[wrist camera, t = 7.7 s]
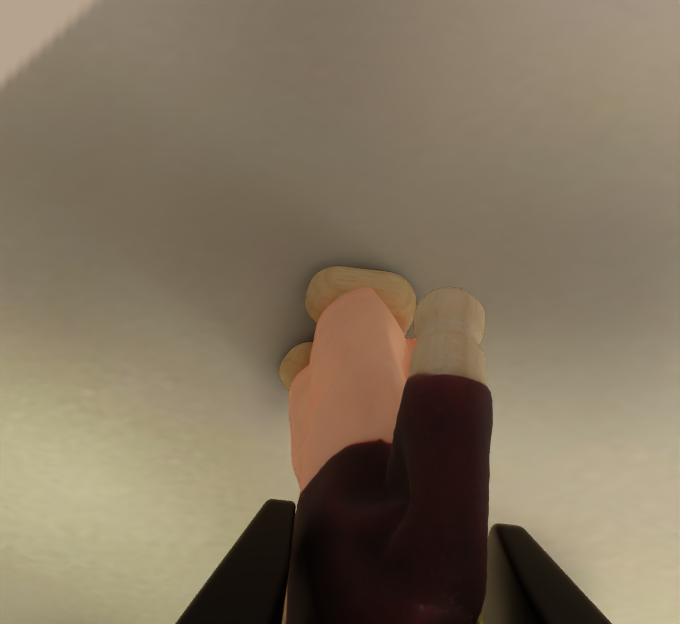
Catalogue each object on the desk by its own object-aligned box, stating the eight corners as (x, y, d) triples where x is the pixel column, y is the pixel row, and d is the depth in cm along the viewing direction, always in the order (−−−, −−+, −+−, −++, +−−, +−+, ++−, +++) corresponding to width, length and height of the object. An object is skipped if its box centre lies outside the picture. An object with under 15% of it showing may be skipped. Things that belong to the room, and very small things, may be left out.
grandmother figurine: (393, 452, 17) (545, 1282, 6) (258, 436, 17) (159, 1303, 6) (469, 191, 14) (1111, 986, 3) (302, 161, 14) (271, 977, 2)
